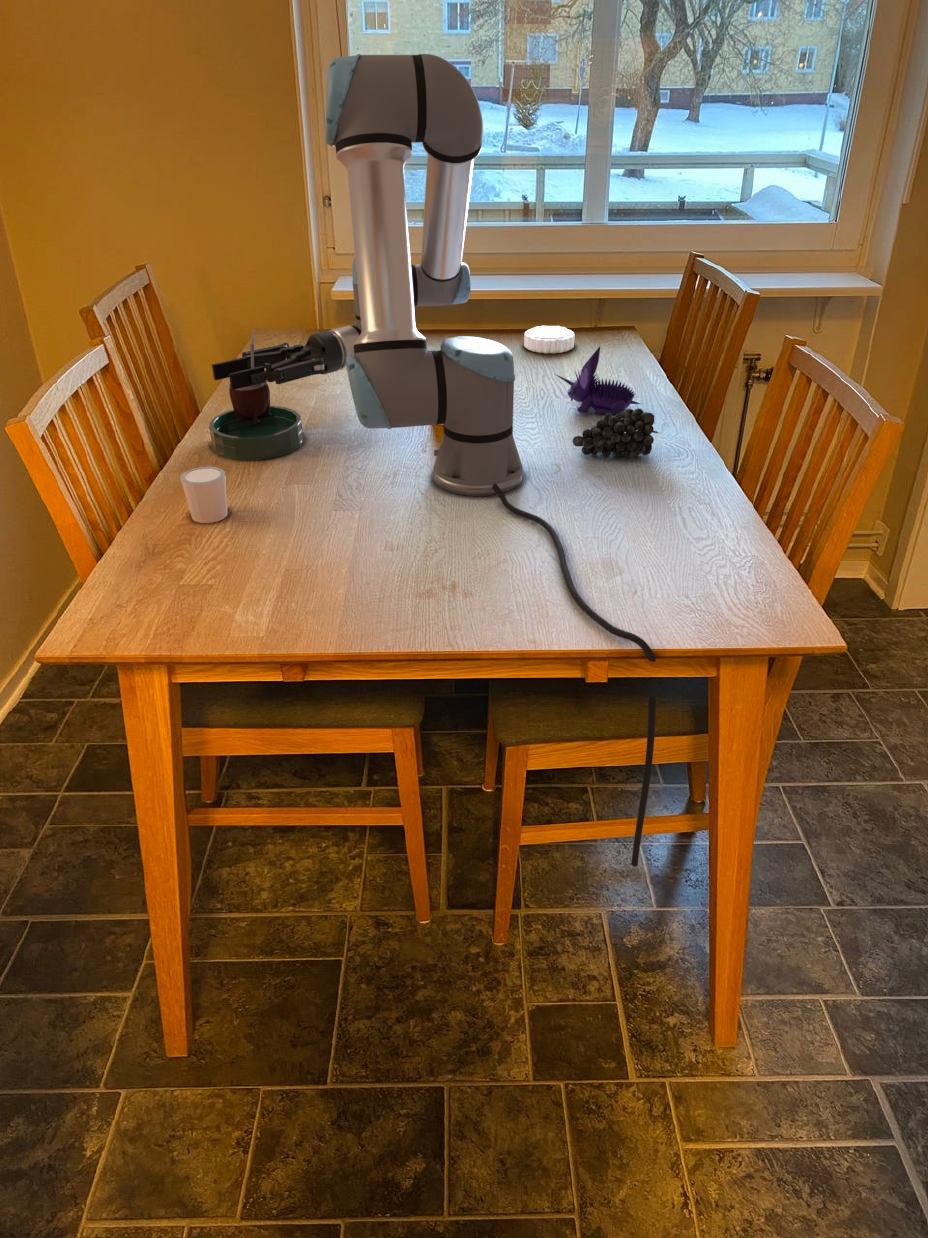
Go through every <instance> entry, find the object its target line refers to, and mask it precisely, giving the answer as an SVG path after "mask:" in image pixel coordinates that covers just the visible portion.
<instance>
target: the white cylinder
mask: <svg viewBox="0 0 928 1238" xmlns="http://www.w3.org/2000/svg"><path fill="white" fill-rule="evenodd" d="M179 478H180V482H181V486H182V489H183V493H184V496H185V500H186V503H187V506H188V509H189V512H190V517H191V519H192V521H194V522H196V523H200V524H212V523H216V522H219V521H222V520H224V519H225V518H226V517H227V516H228V513H229V512H228V500H227V499H228V497H227V496H228V495H227V481H226V480H227V479H226V472H225V470H223V469H222V468H220V467H215V466H201V467H195V468H191V469H189V470H186V471H184V472H183V473H182V474H181V475H180V477H179Z"/></svg>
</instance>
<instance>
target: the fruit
mask: <svg viewBox="0 0 928 1238" xmlns="http://www.w3.org/2000/svg"><path fill="white" fill-rule="evenodd" d="M654 423H655V415H654V414H653V413H652V412H647V411H644V410H643V409H642V408H635V409H634V410H633V409H632V408H626V409H625V410H624V411H622V412H620V413H615V415H614V414H611V413H607V414H604V416H603V419H601V418H600V419H598V420H597V421H596V422H595V425H593V426H591V428H585V429H584V430H583V431H582V435H575V436H573V438H572V444H573V446H574V447H581V453H582V454H583V455H585V456H589V455H594V456H596V455H598V454H599V453H600V454H601V456H602V457H603V458H606V459H607V458H609V457H610V456H611V454H612V456H615V457H621V458H622V457H626V458H628V459H635V458H636V456H638V455H641V454H642V455H644V456H649V455H650V454H651V452H652V450H653V445H652V444H654V440H655V439H654V437H653V435H652V433H654V434H659V432H658V431H656V430H654V426H653V425H654Z"/></svg>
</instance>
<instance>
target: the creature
mask: <svg viewBox="0 0 928 1238" xmlns="http://www.w3.org/2000/svg"><path fill="white" fill-rule="evenodd" d="M600 353H601V345H599V347H598V348H597V349H595V351H594V352H593V354H591V356H590V357H589V359H588V360H587V361H586V362H585V363H584V365H582V367H581V370H580V371H579V369H577V371H578V372H577V371H576V370H574V373H575V376H576V377H575V378H576V380H574V381H571V380H569V379H567V378H565V377H562V376H560V375H558V374H555V373H554V375H556V376H557V377H558V378H559V379H561V380H562V381H563V382H565V383H566V384H568V385H570V388H569V389H567V392H566V394H567V396H568V397H569V399H570V402H573V401H575V402H577V403H581V405H580V406H576V405H574V406H575V408H573V407H572V409H574V410H573V411H577V412H578V413H579V414H586V413H588V412H589V409H590V408H591V409H593V410H594V411H595V412H596V413H599V414H603V415H606V414H607V413H611V414H612V415H614V414H618V413H623V412H624V411H625V410H626V409H628V407H630V405H642V403H641V402H637V401H636V400H633V399H634V398H635V394H636V393H635V390H633V388H631V386H629V384H625V383H626V382H623V383H622V381H620V382H619V379H616V382H615V379H612V382H611V379H609V380H607V379H608V378H605V381H604V379H603V378H601V379H600V377H597V376H598V375H599V374H598V373H596V372H597V369H598V364H599V360H600ZM577 373H578V374H577ZM597 374H598V375H597ZM628 386H629V387H628Z"/></svg>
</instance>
